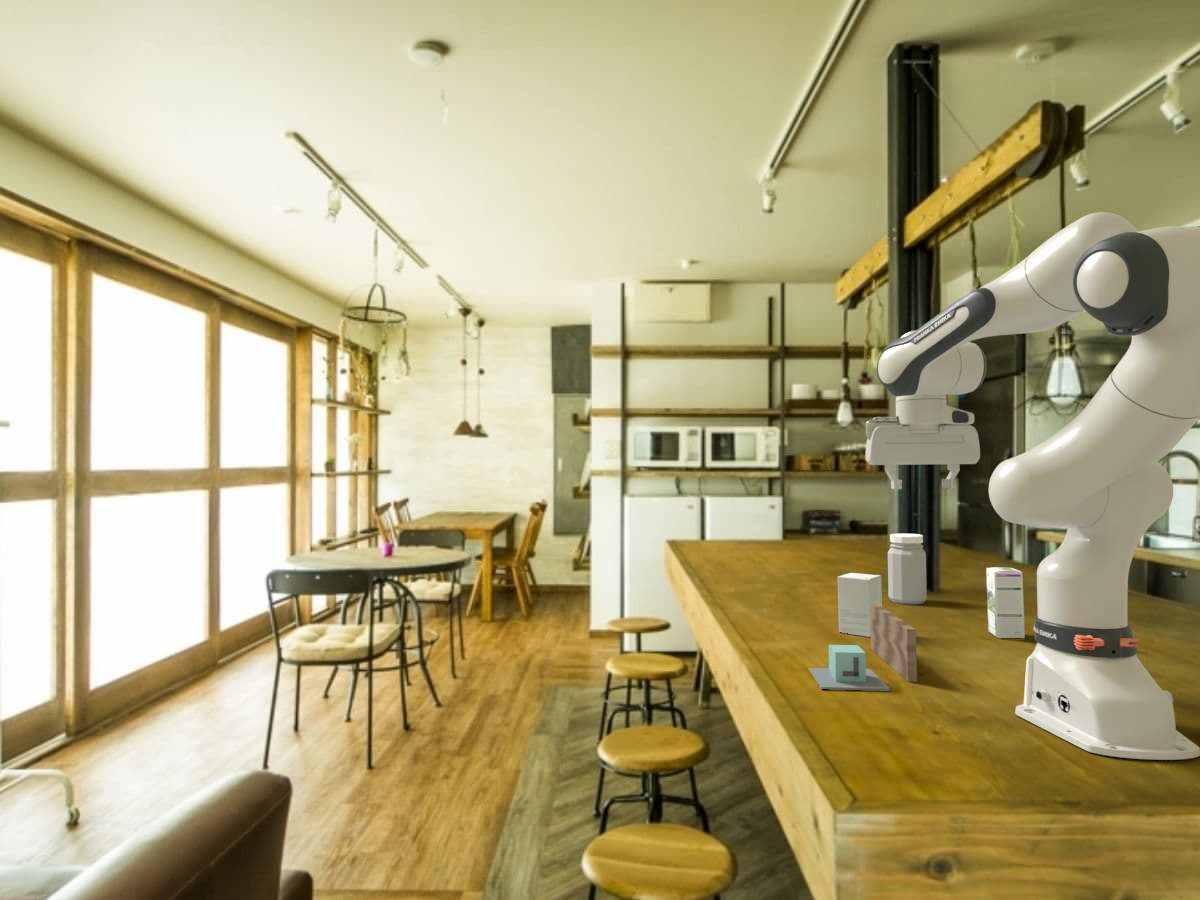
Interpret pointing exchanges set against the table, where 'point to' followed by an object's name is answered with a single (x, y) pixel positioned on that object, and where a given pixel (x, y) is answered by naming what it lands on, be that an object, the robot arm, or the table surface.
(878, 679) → the slate pad
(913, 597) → the jar
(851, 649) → the letter block
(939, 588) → the table surface
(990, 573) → the syrup box
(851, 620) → the supplement box
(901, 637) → the walnut screen
